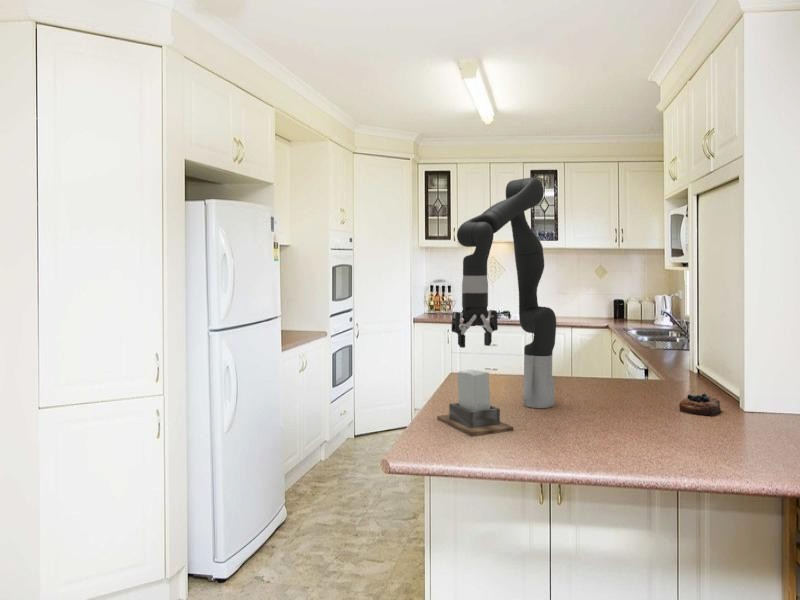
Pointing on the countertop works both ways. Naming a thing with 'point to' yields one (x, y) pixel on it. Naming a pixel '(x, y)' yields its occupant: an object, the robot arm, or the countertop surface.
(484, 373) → the skincare box
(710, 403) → the pastry
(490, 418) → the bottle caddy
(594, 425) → the countertop surface
